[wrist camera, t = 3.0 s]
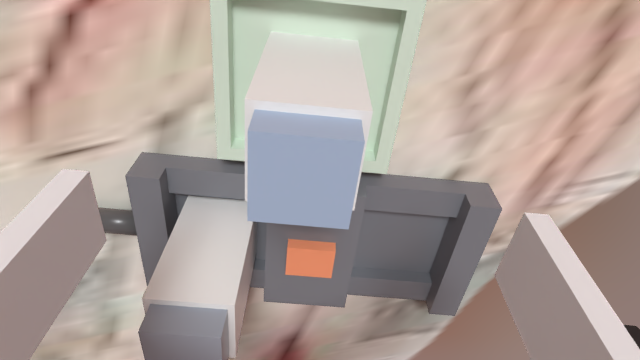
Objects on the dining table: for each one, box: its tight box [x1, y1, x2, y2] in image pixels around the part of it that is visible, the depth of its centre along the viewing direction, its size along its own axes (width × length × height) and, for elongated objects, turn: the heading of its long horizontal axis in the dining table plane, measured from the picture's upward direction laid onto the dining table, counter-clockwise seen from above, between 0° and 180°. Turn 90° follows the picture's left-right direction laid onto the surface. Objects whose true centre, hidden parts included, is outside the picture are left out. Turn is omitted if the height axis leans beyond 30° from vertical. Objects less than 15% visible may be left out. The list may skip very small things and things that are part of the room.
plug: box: [245, 31, 373, 229], centre depth 19 cm, size 4×4×10 cm
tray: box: [210, 0, 427, 174], centre depth 23 cm, size 10×10×2 cm
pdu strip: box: [98, 152, 502, 316], centre depth 28 cm, size 10×26×3 cm, turn 84°
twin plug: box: [138, 195, 257, 360], centre depth 25 cm, size 4×4×10 cm
